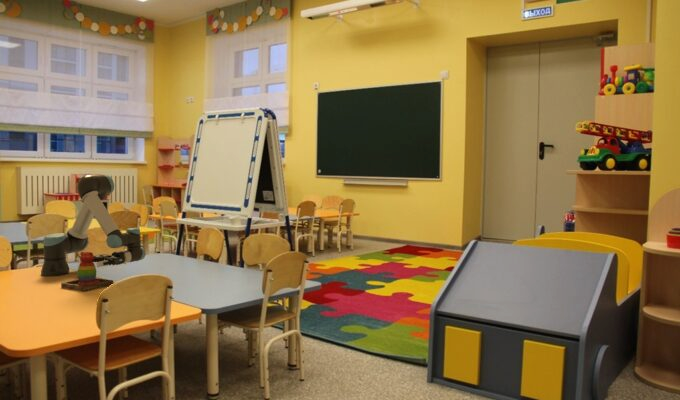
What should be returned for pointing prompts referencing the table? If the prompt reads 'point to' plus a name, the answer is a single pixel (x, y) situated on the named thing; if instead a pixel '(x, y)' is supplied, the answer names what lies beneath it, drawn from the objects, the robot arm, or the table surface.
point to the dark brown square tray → (75, 286)
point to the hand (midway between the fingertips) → (88, 263)
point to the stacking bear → (87, 270)
